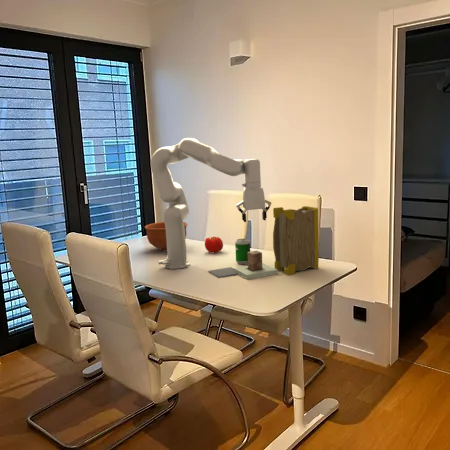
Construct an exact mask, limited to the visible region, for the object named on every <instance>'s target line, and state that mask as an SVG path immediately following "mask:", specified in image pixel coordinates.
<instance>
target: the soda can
mask: <svg viewBox="0 0 450 450" xmlns="http://www.w3.org/2000/svg"><path fill="white" fill-rule="evenodd" d="M234 243H235V245H234V246H235V247H234V249H235V262H236V263H237V264H238V265H248V254H247V252H251V241H250V240H249V239H248V238H238V239H236V241H234Z"/></svg>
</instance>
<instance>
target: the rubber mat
mask: <svg viewBox="0 0 450 450" xmlns="http://www.w3.org/2000/svg"><path fill="white" fill-rule="evenodd" d="M233 268H234V267H231V266H230V267H229V266H228V267H223V268H216V269H211V270H208V271H207V272H208V273H209V274H211V275H213V276H215V277H216V278H217V279H221V278H227V277H231V276H233V277H234V276H237V275H238V273H236V272H235V271H233ZM238 276H239V275H238Z"/></svg>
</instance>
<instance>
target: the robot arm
mask: <svg viewBox="0 0 450 450" xmlns="http://www.w3.org/2000/svg"><path fill="white" fill-rule="evenodd" d="M189 158H190V159H193V160H194V161H197V162H200V163H202V164H203V165H206V166H208V167H210V168H212V169H214V170H216V171H218V172H220V173H223V174H225V175H228V176H230V177H237V176H240V175H244V183H242V184H241V187H243V192H242V193H243V194H242V200H241V201H240V202H239V203H237V204H236V205H235V207H236V208H237V210H238V211H239V212H240V213H241V220H242V221H243V222H244V223H247V214H246V212H247V211H252V210H253V211H254V210H262V213H261V214H262V216H261V217H262V220H263V221H267V220H266V219H267V212H268V211H269V210H270V207H271V206H272V202H271V201H269V200H267V199H265V198H266V197H265V192H264V189H263V187H262V183H261V161H260V159H258V158H250V159H238V158H237V159H236V158H235V159H233V158H229V157H227V156H225V155H223V154H222V153H220V152H218V151H217V150H216V149H215V148H213V147H211V146H210V145H207V144H204V143H202V142H200V141H199V140H198V139H196V138H193V137H186V138H185V137H184V138H183V139H181V141H179V143H177V144H175V145H172V146H163V147H160V148H158V149H157V150H155V152H154V153H153V154H152V155H151V159H150V169H151V172H152V175H153V179H154V181H155V185H156V188H157V191H158V195H159V199H161V201H162V202H164V203H168V206H166V208H165V209H164V211H163V215H162V216H163V222H164V223H165V229H166V241H167V251H166V253H167V254H166V255H167V256H166V257H165V258H164V259H163V260H158V265H164V267H165V268H166V269H168V268H169V270H180V269H186V268H189V267H190V266H191V263H190V261H187V247H186V246H187V245H186V239H185V229H184V224H183V222H184V220H185V219H187V218H188V216H189V214H190V213H189V211H190V209H189V206H188V202H187V199H186V196H185V192H184V189H183V187H182V185H180V184H179V183H178V182H175V181H174V180H173V176H172V173H171V171H170V169H169V165H172V164H173V165H174V164H177V163H179V162H181V161H184V160H186V159H189ZM266 204H267V205H266ZM241 206H242V207H243V208H241Z"/></svg>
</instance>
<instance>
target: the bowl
mask: <svg viewBox="0 0 450 450" xmlns="http://www.w3.org/2000/svg"><path fill="white" fill-rule="evenodd" d="M183 224H184V229H185V240H186V238H187V226H188V223H187V222H184V221H183ZM144 229H145V230H146V237H147V238H146V239H147V241H148V243H149V244H150V245H152V246H153V247H154V248H157V249H159V250H160V249H161V250H167V241H166V229H165V223H164V221H160V222H153V223H150V224H145V226H144ZM161 250H160V251H161Z"/></svg>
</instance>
